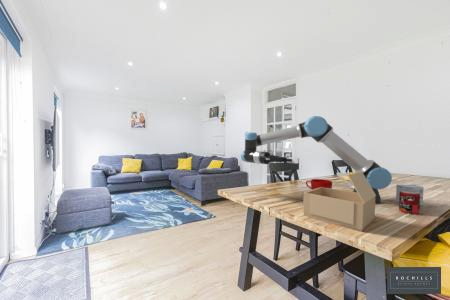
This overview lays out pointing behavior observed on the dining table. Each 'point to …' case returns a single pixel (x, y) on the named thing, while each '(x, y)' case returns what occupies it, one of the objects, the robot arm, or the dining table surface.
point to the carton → (339, 208)
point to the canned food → (409, 201)
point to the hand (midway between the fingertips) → (298, 160)
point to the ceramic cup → (319, 183)
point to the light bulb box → (409, 187)
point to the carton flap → (362, 186)
